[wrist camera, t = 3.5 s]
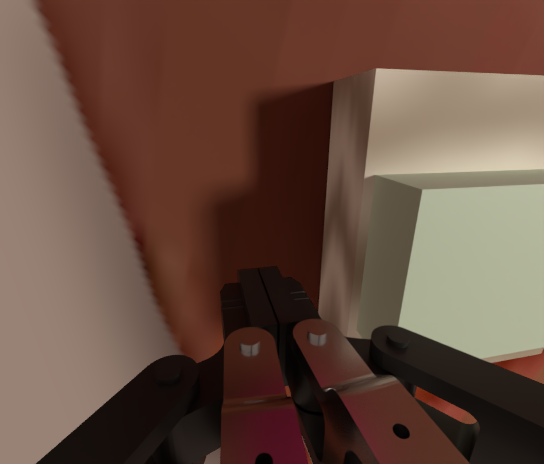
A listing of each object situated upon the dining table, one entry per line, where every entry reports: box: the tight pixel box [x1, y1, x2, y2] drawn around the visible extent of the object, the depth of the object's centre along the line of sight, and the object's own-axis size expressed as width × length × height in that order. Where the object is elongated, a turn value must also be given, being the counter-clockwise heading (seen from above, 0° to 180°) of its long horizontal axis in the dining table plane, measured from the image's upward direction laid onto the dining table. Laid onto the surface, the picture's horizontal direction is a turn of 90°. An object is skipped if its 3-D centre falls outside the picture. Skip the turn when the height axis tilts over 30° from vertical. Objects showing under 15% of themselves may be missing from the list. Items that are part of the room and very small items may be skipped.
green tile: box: [356, 169, 544, 359], centre depth 14 cm, size 8×9×3 cm
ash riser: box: [318, 69, 544, 363], centre depth 17 cm, size 16×14×4 cm
